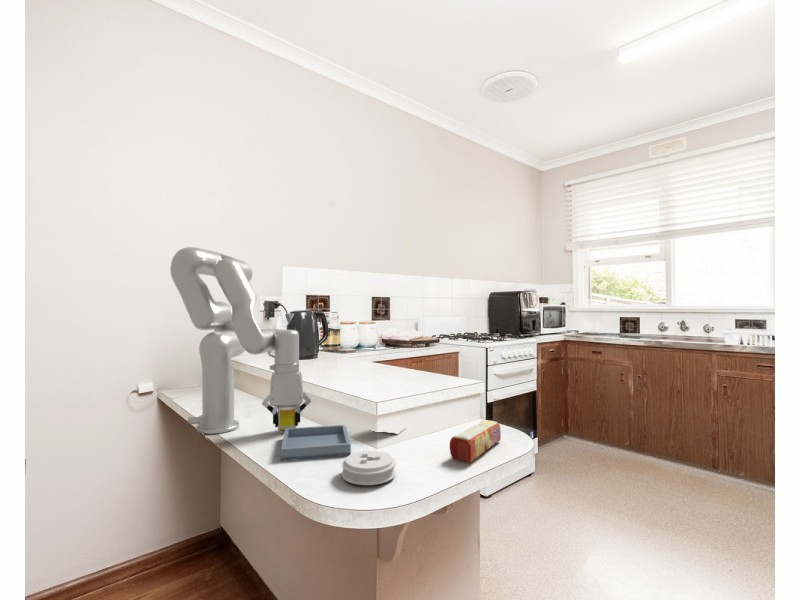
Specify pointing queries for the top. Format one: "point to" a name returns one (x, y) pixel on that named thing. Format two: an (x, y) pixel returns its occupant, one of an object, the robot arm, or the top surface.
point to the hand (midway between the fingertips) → (286, 424)
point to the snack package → (474, 441)
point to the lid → (368, 468)
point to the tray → (315, 442)
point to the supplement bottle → (286, 418)
